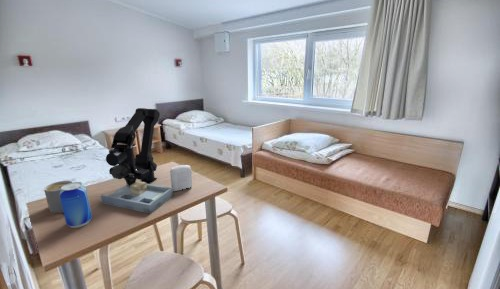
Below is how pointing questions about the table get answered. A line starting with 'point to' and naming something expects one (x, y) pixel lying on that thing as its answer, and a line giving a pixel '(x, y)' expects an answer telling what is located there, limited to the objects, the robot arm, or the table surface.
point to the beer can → (75, 204)
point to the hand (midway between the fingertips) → (131, 188)
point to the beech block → (138, 187)
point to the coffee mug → (54, 196)
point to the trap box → (139, 198)
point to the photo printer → (181, 177)
